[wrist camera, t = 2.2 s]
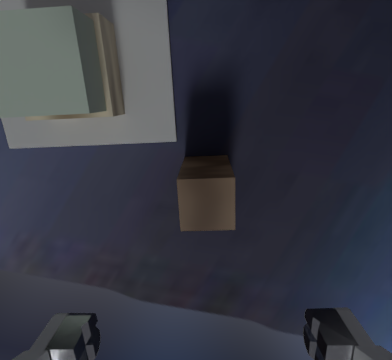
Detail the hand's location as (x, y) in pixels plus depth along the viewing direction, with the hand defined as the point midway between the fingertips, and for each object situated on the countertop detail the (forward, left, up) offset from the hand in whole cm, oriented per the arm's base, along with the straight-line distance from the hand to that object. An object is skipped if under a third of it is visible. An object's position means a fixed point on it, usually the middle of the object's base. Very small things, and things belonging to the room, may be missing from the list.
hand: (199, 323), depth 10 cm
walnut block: (0, 0, -19) cm, 19 cm away
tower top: (+12, -11, -15) cm, 22 cm away
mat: (+12, -11, -19) cm, 25 cm away
